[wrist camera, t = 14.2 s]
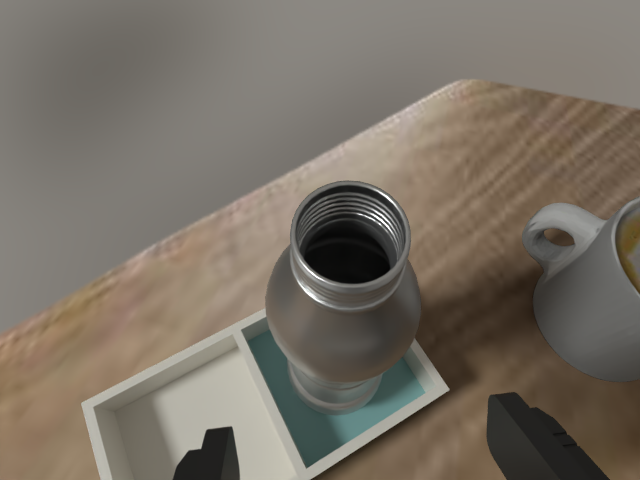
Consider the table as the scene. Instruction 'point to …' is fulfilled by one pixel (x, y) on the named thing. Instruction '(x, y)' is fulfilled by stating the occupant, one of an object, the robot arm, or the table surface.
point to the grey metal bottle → (344, 295)
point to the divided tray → (242, 410)
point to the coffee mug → (590, 288)
